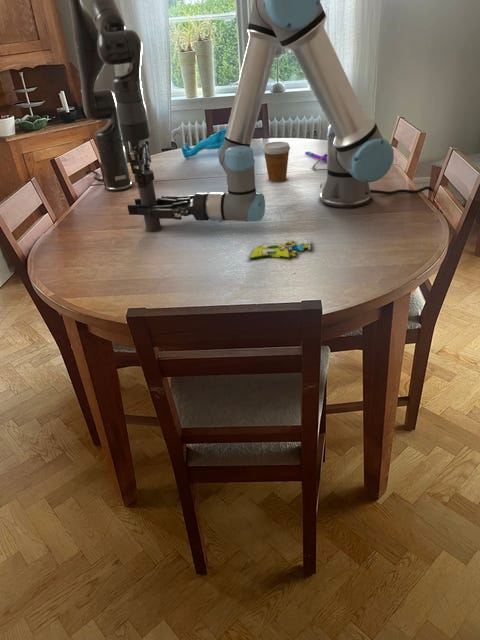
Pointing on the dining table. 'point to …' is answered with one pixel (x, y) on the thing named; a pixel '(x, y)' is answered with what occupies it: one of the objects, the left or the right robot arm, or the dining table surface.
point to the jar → (149, 198)
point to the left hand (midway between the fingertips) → (145, 183)
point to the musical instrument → (318, 158)
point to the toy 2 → (279, 250)
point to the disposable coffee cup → (276, 160)
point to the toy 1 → (205, 144)
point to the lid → (147, 176)
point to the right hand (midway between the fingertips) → (132, 206)
